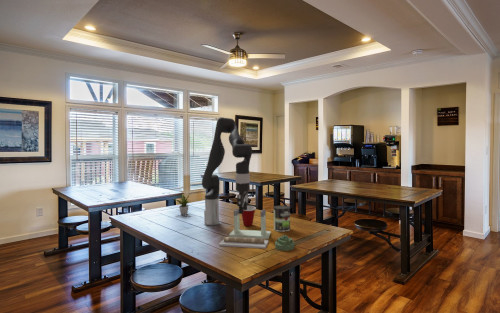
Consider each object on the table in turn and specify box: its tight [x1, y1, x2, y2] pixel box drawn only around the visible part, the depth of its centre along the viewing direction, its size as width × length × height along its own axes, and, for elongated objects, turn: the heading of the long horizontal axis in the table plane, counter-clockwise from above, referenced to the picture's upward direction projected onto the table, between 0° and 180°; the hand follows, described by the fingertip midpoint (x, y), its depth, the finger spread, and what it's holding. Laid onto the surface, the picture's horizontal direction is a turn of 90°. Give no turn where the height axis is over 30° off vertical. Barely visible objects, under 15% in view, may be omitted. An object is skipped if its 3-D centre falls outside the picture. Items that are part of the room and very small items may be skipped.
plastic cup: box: [241, 205, 257, 227], centre depth 197 cm, size 11×11×12 cm
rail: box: [223, 236, 265, 244], centre depth 160 cm, size 22×2×2 cm, turn 77°
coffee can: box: [273, 204, 291, 233], centre depth 186 cm, size 10×10×14 cm
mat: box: [218, 238, 269, 250], centre depth 160 cm, size 25×10×1 cm, turn 77°
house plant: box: [173, 193, 192, 215], centre depth 233 cm, size 14×14×16 cm
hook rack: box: [228, 208, 272, 240], centre depth 175 cm, size 23×10×15 cm, turn 77°
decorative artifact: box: [274, 234, 295, 252], centre depth 154 cm, size 10×7×10 cm
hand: (243, 211), depth 160 cm, fingers open, 8 cm apart
